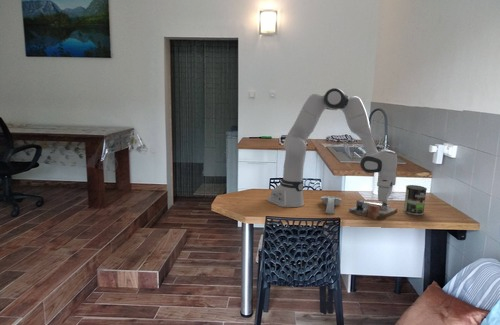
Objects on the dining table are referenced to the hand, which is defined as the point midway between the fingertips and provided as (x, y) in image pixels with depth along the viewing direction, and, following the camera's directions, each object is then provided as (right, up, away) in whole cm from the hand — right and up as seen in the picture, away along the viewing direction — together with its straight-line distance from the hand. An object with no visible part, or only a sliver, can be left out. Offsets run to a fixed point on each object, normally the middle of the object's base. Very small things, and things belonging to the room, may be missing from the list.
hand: (384, 205), depth 200 cm
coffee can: (+18, -4, +7) cm, 20 cm away
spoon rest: (-26, -3, +11) cm, 28 cm away
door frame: (-4, -4, +5) cm, 8 cm away
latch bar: (-7, -2, +1) cm, 7 cm away
